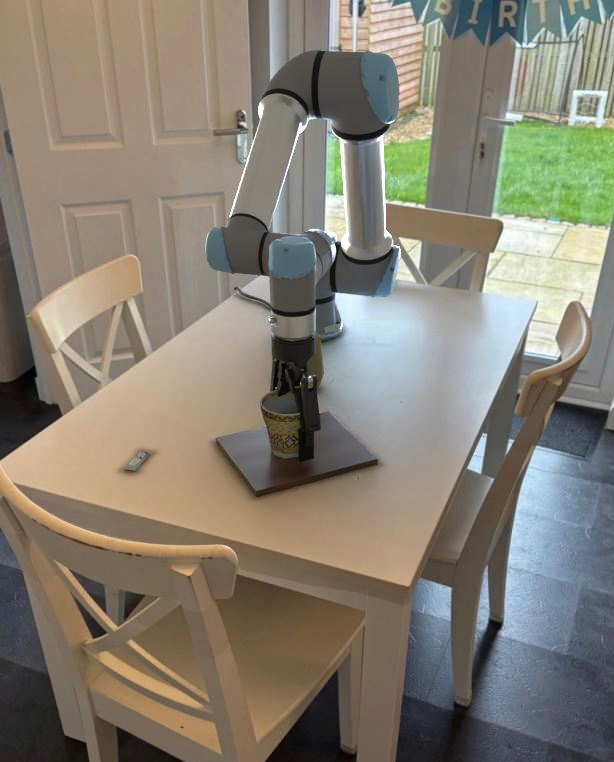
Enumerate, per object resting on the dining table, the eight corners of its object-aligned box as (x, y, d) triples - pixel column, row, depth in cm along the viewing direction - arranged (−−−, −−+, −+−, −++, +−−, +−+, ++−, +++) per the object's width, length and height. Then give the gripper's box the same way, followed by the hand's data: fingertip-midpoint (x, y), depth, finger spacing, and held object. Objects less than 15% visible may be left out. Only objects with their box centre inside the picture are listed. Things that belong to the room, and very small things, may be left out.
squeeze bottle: (330, 384, 169) (331, 304, 159) (314, 400, 163) (314, 318, 153) (296, 377, 172) (295, 298, 162) (279, 392, 166) (277, 312, 156)
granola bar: (135, 473, 141) (134, 468, 140) (124, 471, 141) (123, 466, 141) (152, 454, 146) (152, 450, 145) (141, 453, 147) (140, 448, 146)
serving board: (215, 443, 149) (215, 437, 148) (328, 416, 158) (328, 410, 157) (256, 497, 134) (255, 491, 133) (377, 464, 143) (378, 458, 142)
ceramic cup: (296, 469, 139) (295, 420, 133) (251, 453, 144) (248, 405, 138) (334, 438, 148) (335, 390, 143) (290, 423, 153) (289, 377, 147)
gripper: (248, 314, 139) (253, 424, 152) (300, 362, 123) (301, 480, 136) (286, 307, 142) (289, 416, 155) (342, 353, 126) (340, 470, 138)
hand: (294, 446), depth 145 cm, fingers closed on ceramic cup, 9 cm apart
